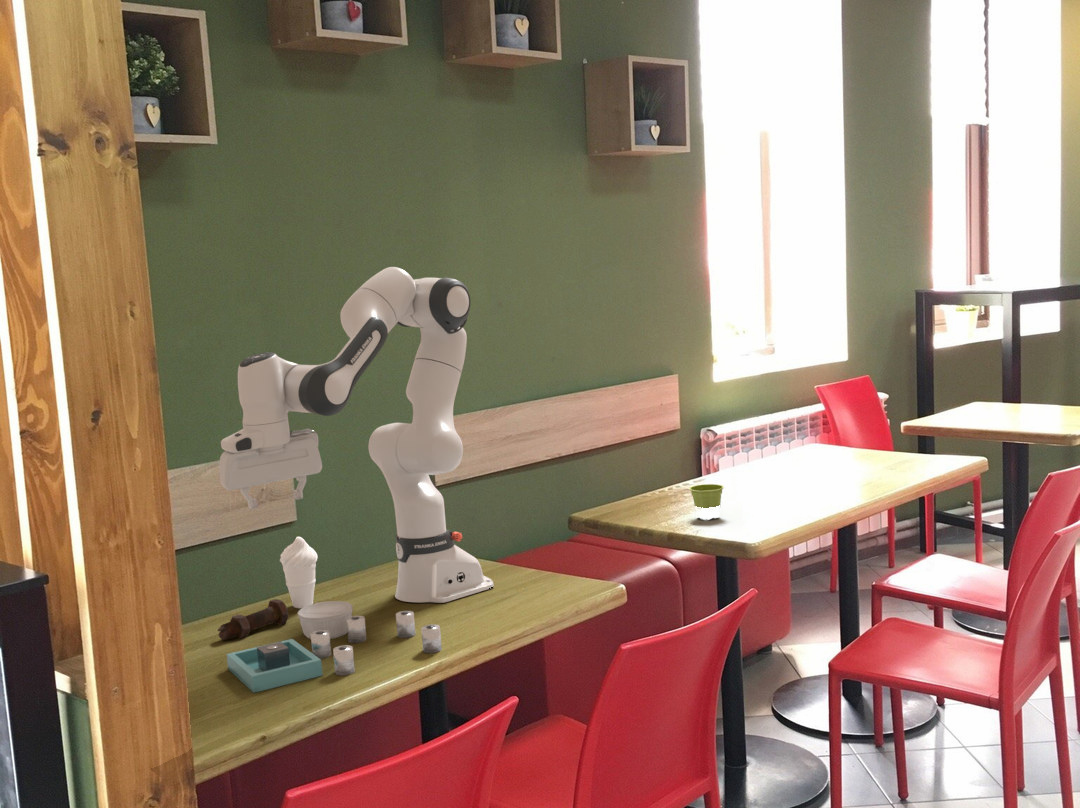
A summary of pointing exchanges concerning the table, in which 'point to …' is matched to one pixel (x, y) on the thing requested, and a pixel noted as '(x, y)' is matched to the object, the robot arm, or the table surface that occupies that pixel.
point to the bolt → (254, 620)
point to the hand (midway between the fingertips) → (276, 503)
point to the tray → (257, 680)
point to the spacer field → (358, 634)
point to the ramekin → (325, 618)
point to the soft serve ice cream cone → (300, 572)
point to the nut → (273, 656)
